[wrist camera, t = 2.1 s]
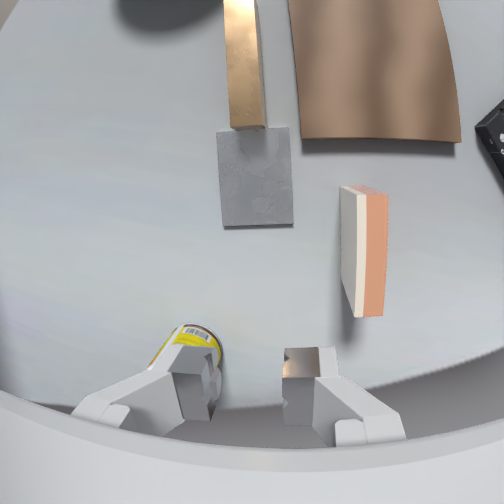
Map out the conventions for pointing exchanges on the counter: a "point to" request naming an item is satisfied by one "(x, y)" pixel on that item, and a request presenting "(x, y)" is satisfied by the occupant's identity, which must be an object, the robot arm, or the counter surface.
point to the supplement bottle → (190, 340)
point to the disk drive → (494, 134)
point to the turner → (251, 132)
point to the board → (374, 70)
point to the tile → (364, 248)
